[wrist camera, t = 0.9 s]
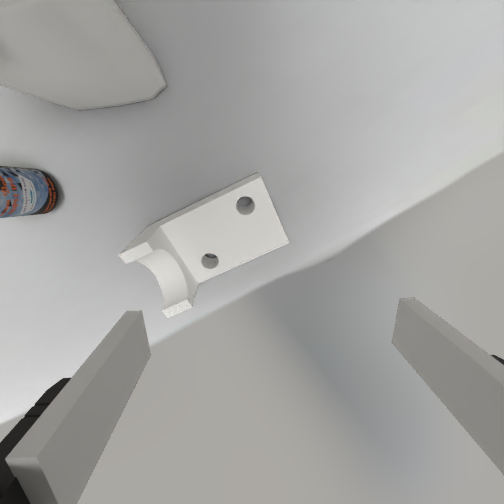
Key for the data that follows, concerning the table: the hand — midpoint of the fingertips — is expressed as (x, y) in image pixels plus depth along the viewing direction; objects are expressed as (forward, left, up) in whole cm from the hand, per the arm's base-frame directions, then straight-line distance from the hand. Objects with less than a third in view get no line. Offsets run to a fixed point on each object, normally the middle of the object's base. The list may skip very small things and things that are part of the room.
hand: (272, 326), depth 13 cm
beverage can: (-5, -31, -26) cm, 41 cm away
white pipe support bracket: (+1, -6, -26) cm, 27 cm away
